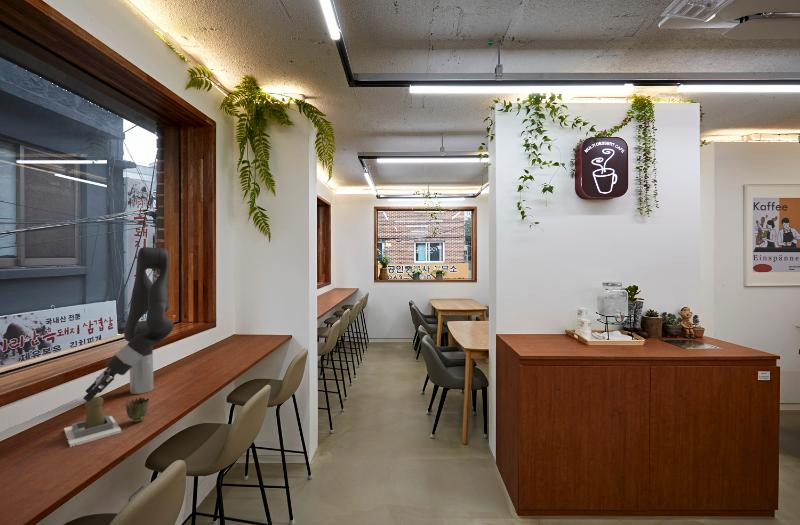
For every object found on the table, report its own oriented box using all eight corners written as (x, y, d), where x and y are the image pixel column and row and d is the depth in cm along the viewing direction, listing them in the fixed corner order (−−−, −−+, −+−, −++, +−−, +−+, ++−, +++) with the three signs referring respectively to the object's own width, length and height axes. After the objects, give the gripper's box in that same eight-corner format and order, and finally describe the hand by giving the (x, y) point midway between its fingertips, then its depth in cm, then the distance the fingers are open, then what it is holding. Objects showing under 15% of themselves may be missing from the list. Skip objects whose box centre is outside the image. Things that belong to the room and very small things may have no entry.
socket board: (64, 430, 138) (64, 422, 138) (111, 418, 148) (111, 410, 148) (70, 447, 125) (69, 438, 125) (121, 432, 136) (121, 424, 136)
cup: (154, 418, 147) (153, 398, 147) (135, 426, 140) (134, 405, 140) (140, 416, 149) (139, 396, 149) (121, 424, 143) (120, 403, 142)
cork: (92, 432, 134) (91, 401, 134) (80, 430, 136) (79, 400, 135) (109, 424, 140) (108, 395, 140) (97, 423, 141) (96, 394, 141)
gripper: (116, 349, 146) (78, 385, 140) (115, 357, 135) (74, 396, 128) (133, 360, 150) (97, 396, 143) (134, 369, 138) (95, 408, 132)
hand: (86, 396), depth 136 cm, fingers open, 8 cm apart
